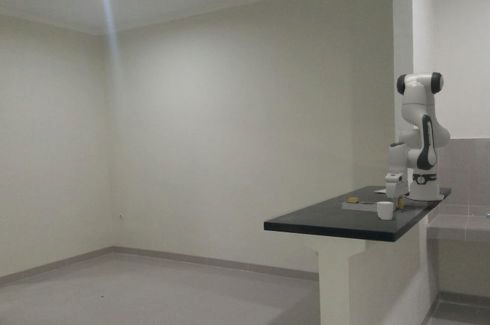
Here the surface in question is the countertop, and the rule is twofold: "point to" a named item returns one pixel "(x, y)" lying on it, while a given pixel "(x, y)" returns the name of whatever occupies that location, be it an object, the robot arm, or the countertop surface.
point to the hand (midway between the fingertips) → (398, 205)
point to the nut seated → (353, 200)
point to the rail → (363, 206)
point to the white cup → (385, 210)
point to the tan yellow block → (400, 203)
